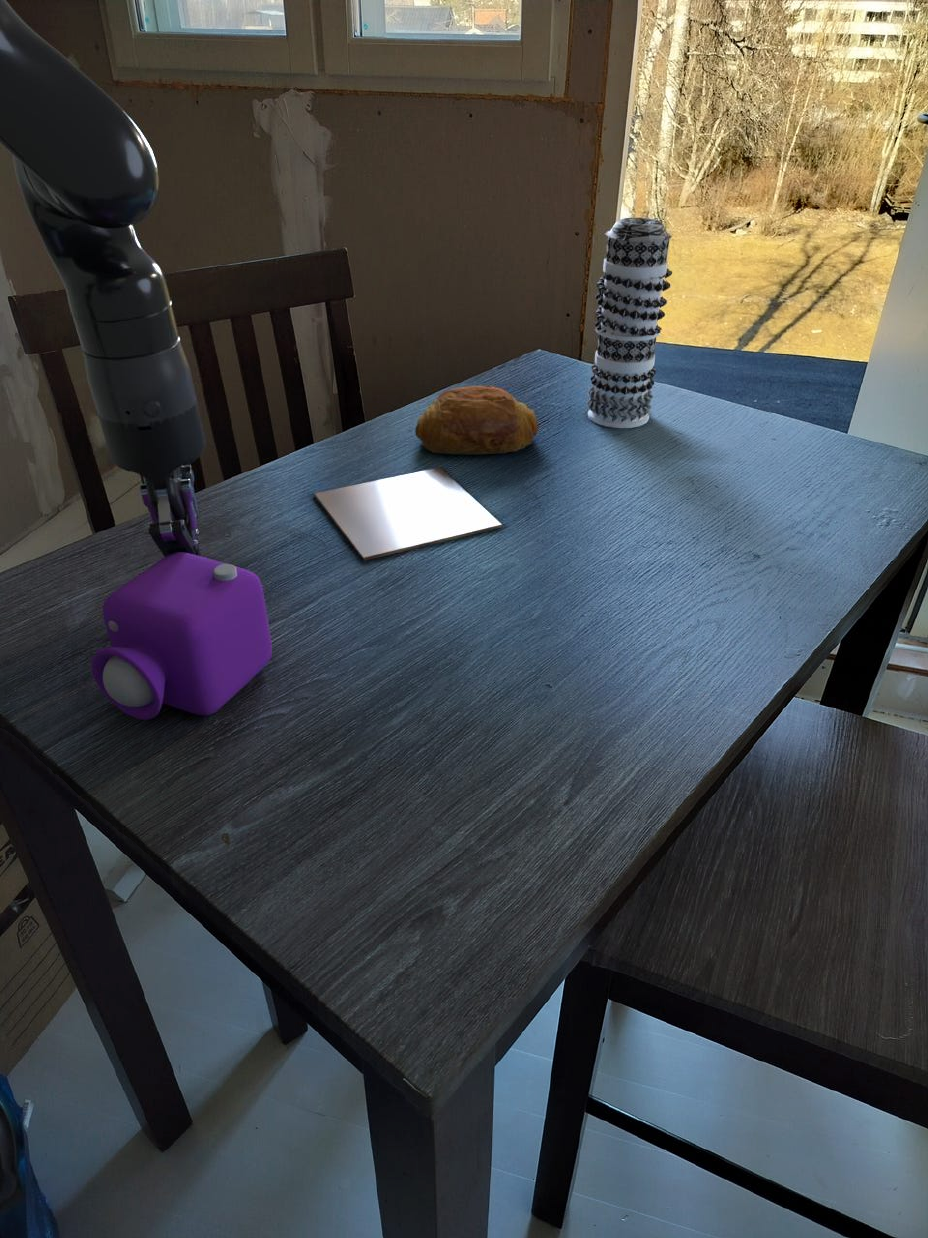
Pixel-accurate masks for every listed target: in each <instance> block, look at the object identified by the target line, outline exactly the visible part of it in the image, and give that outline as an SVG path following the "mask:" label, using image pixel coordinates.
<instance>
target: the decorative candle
mask: <svg viewBox="0 0 928 1238" xmlns="http://www.w3.org/2000/svg"><path fill="white" fill-rule="evenodd" d="M604 235H605V236H606V237H607V244H606V256H605V258H603V268H602V272H603V276H601V277H600V278H599V279H598V282H597V283H596V287H597V291H598V293H597V294H596V295H595V299H596V303H597V305H599V306H598V307H597V309H596V311H595V312H594V314H595V316H596V322H595V323H594V325H593V326H594V327H595V329H594V330H595V331H596V333H597V335H598V339H597V349H596V351H594V352H595V353H594V362H593V364H592V365H591V367H590V368H591V371H592V373H593V375H591V377H590V381H591V384H592V386H591V387H590V388H589V390H588V395H589V399H588V401H587V405H588V408H589V410H588V411H587V416H588V419H589V420H590V421H591V422H593V423H595V424H597V425H600V426H603V427H608V428H614V429H632V428H637V427H641V426H644V425H645V424H647V423H648V421H649V419H650V414H649V413H650V410H651V409H652V405H651V404H650V403H651V402H652V399H653V397H654V395H653V393H652V388H653V386H654V385H655V380H653V378H654V377H655V375H656V373H657V369H656V368H655V360H656V353H655V352H656V344H657V338H658V337H659V336H660V334H662V333H661V332H662V330H663V329H662V327H661V326H659V324H658V321H660V320H663V318H665V316H666V313H665V312H664V310H663V309H662V308H663V307H665V306H666V305H667V304H668V300H667V298H665V297H664V296H663V295H662V292H666V291H667V290H668V289H670V288H671V283H670V282H668V280H667V279H668V278H669V277H671V276H672V274H673V270H670V269H669V268H668V263H669V261H668V253H669V246H670V239H671V238H672V237H673V235H671V233H670V232H668V231H667V230H666V226H665V225H664V223H663V222H662V221H660V220H658V219H655V218H650V217H625V218H621V219H618V220H616V222H615V223H614V224H613V226H612V228H611V229H610V230H607V231H606V232H604Z"/></svg>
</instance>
